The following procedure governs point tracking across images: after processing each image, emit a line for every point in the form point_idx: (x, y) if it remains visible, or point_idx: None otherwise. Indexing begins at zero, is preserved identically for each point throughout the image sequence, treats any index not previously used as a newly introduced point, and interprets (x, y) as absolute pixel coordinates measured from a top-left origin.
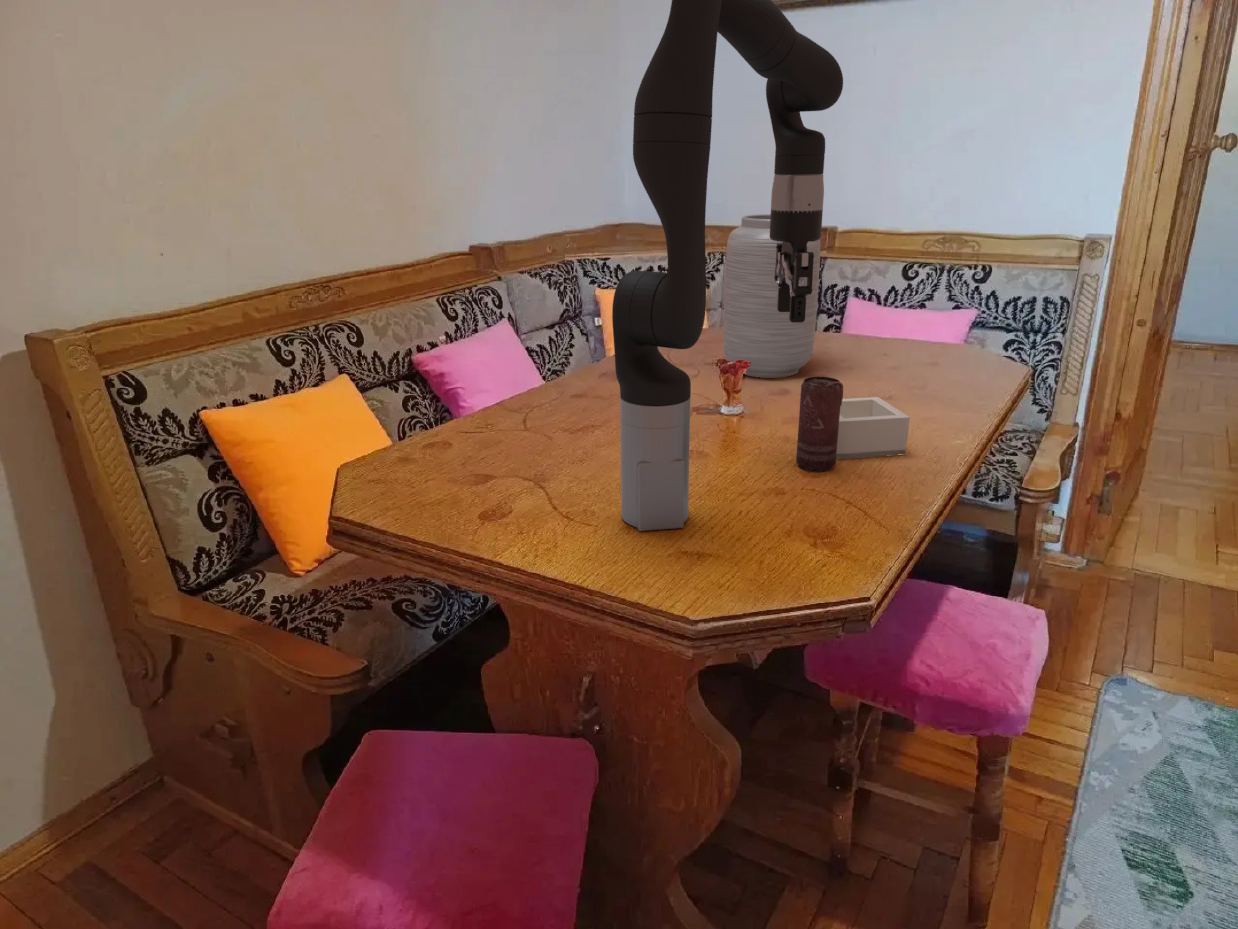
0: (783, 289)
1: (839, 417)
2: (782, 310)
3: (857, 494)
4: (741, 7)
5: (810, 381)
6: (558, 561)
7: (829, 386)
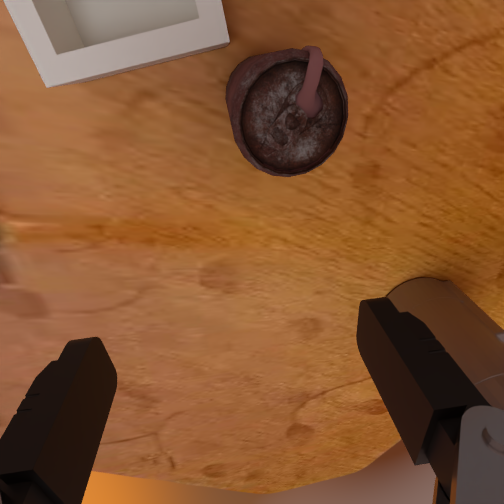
0: (67, 495)
1: (193, 31)
2: (109, 369)
3: (401, 37)
4: None
5: (271, 152)
6: None
7: (346, 104)
